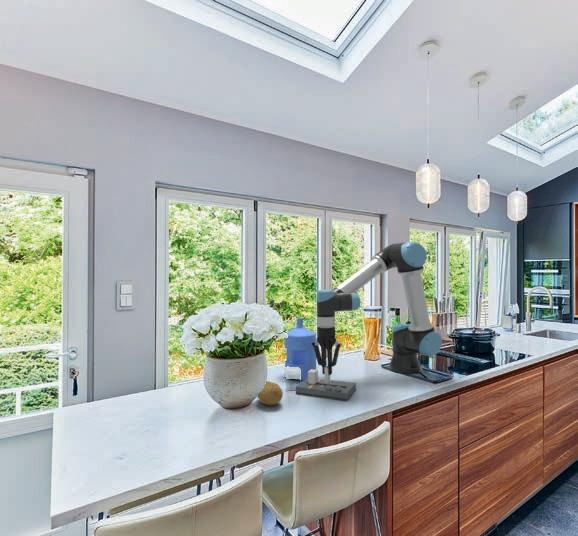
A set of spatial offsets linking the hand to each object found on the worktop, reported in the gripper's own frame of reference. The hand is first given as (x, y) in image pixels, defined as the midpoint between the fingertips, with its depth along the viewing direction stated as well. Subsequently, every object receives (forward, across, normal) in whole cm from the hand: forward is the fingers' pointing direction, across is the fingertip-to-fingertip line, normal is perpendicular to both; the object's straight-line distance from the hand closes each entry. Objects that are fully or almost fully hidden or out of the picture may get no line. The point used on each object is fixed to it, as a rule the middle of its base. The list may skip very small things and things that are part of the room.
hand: (327, 382), depth 153 cm
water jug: (+4, +20, -17) cm, 26 cm away
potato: (+4, +16, +21) cm, 27 cm away
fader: (+3, +6, 0) cm, 7 cm away
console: (+4, +1, 0) cm, 4 cm away
